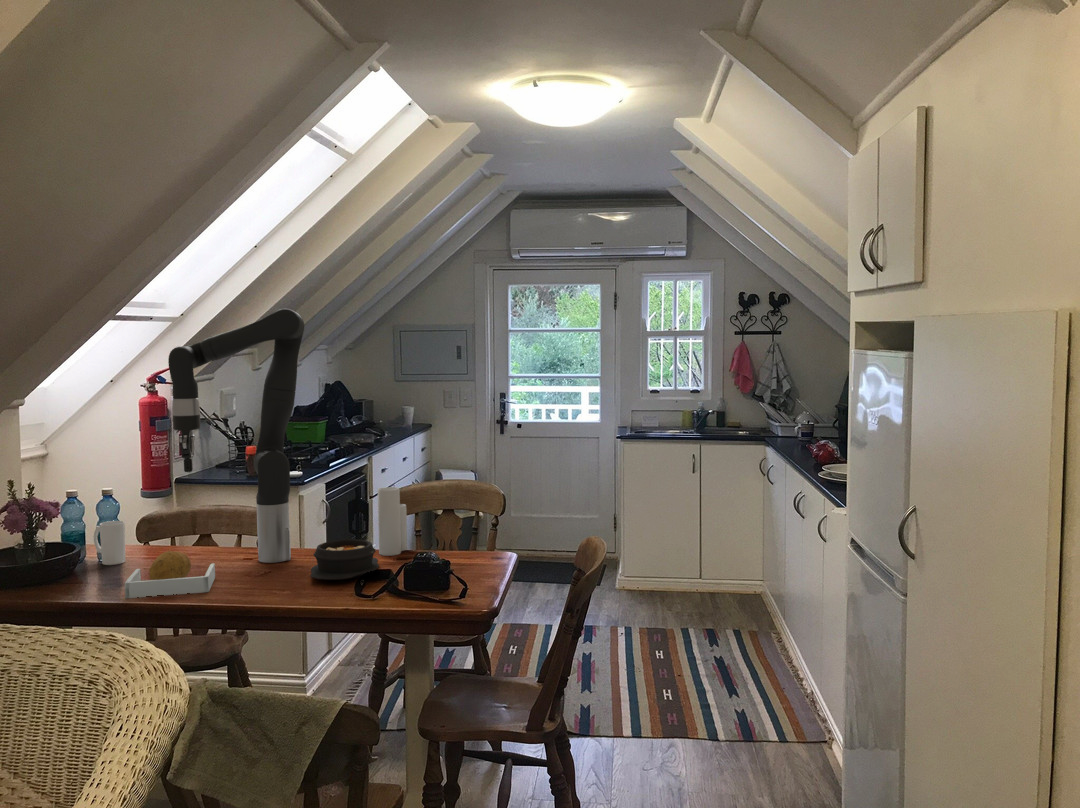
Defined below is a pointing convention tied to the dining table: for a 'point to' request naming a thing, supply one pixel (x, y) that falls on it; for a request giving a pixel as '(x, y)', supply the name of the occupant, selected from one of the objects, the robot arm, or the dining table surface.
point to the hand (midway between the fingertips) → (188, 471)
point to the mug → (111, 542)
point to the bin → (168, 585)
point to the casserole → (344, 559)
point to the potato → (170, 566)
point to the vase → (391, 522)
